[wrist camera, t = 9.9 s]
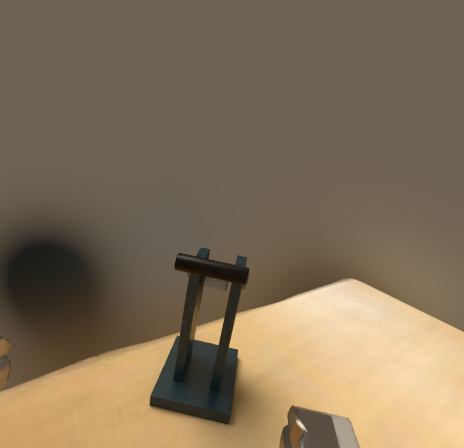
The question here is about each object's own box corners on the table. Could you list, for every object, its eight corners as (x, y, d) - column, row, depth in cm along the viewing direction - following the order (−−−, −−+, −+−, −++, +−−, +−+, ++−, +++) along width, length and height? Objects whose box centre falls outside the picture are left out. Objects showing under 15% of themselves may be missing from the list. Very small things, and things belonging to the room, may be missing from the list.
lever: (244, 294, 18) (251, 258, 19) (170, 278, 18) (179, 243, 19) (239, 293, 29) (244, 270, 29) (192, 283, 29) (198, 260, 30)
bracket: (228, 424, 27) (260, 291, 23) (149, 405, 27) (167, 271, 23) (236, 357, 36) (261, 252, 32) (176, 343, 36) (192, 237, 32)
